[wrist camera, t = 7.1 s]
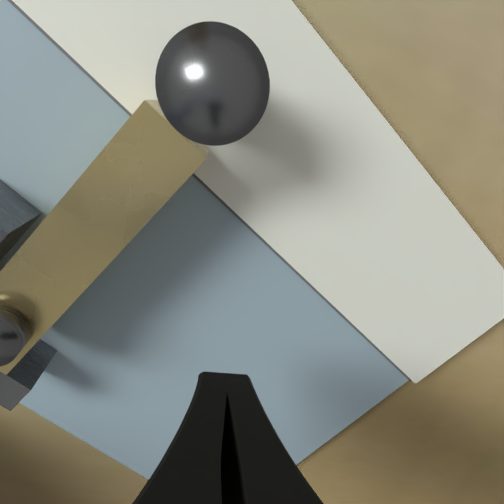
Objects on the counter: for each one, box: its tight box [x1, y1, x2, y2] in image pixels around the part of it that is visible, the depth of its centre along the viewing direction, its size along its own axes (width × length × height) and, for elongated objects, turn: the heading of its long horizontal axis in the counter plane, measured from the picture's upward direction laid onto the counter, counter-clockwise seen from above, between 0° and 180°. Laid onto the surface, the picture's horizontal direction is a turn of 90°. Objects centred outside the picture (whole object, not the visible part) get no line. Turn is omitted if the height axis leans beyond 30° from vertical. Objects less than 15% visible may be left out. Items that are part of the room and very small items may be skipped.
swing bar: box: [0, 100, 209, 375], centre depth 12 cm, size 10×2×3 cm, turn 135°
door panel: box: [0, 0, 504, 480], centre depth 16 cm, size 19×22×1 cm
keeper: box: [0, 180, 57, 411], centre depth 14 cm, size 6×6×2 cm
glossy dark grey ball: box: [155, 21, 270, 146], centre depth 11 cm, size 3×3×4 cm
